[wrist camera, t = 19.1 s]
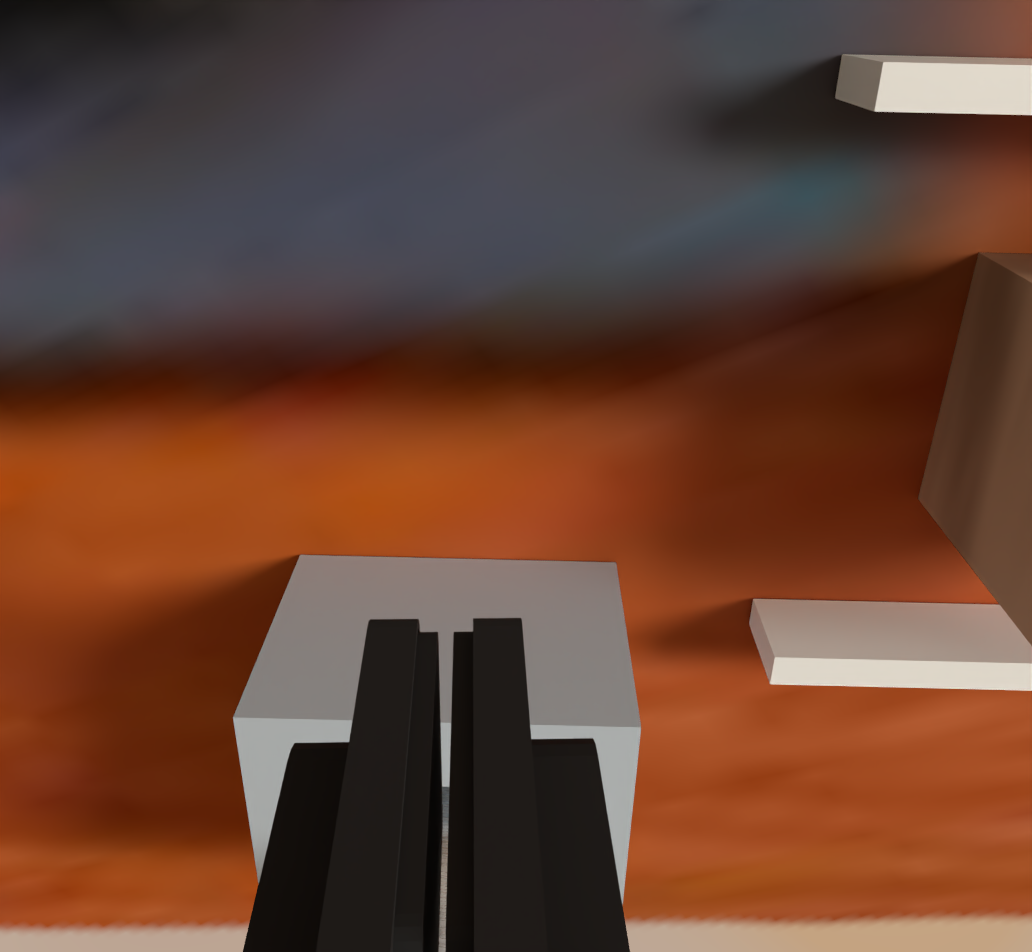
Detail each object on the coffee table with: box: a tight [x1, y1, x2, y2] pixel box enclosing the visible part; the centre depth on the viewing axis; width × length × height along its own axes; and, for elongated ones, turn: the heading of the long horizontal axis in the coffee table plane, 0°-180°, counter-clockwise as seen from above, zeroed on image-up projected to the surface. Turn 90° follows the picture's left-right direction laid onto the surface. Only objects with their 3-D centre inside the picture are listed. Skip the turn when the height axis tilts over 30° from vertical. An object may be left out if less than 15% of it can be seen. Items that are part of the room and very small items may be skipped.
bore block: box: [233, 555, 641, 904], centre depth 23 cm, size 8×8×6 cm
